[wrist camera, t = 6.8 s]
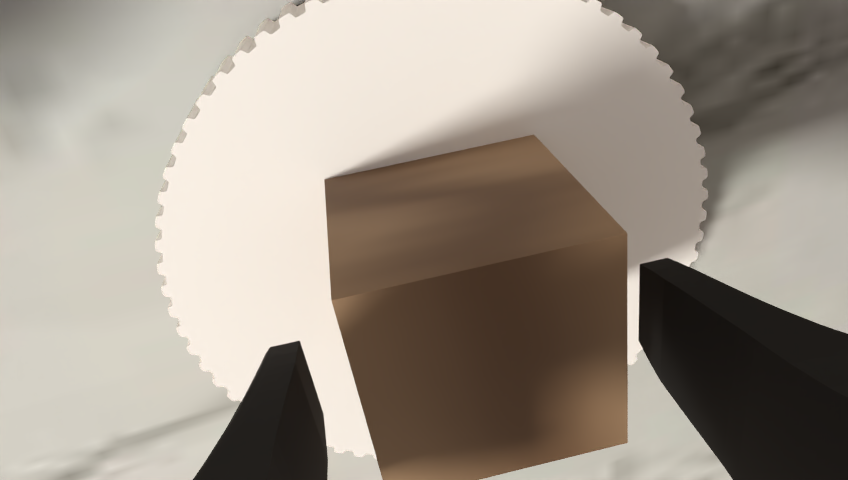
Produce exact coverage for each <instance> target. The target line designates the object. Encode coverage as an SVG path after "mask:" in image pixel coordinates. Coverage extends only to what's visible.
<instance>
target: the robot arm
mask: <svg viewBox="0 0 848 480" xmlns="http://www.w3.org/2000/svg"><path fill="white" fill-rule="evenodd" d="M638 341H639V342H640V344H641V346H642V348H643V350H644V352H645V354H646V356H647V358H648V359H649V361H650V363H651V365H652V367H653V368H654V370H655V372H656V374H657V375H658V377H659V379H660V381H661V382H662V383H663V385H664V386H665V388H666V389H667V390H668V392H669V393H670V394H671V396H672V397H673V399H674V400H675V401H676V403H677V404H678V405H679V407H680V408H681V409H682V411H683V412H684V413H685V415H686V416H687V417H688V419H689V420H690V422H691V423H692V424H693V426H694V427H695V428H696V430H697V431H698V432H699V434H700V435H701V436H702V438H703V439H704V440H705V442H706V443H707V444H708V446H709V447H710V448H711V450H712V451H713V452H714V454H715V455H716V456H717V458H718V459H719V460H720V462H721V463H722V464H723V466H724V467H725V469H726V470H727V472H728V473H729V474H730V476H731V477H732V479H733V480H848V334H846V333H843V332H840V331H837V330H834V329H831V328H828V327H826V326H823V325H820V324H817V323H815V322H812V321H810V320H807V319H805V318H802V317H800V316H797V315H795V314H792V313H789V312H787V311H784V310H782V309H780V308H777V307H775V306H773V305H770V304H768V303H766V302H763V301H761V300H759V299H757V298H754V297H752V296H750V295H748V294H746V293H743V292H741V291H739V290H737V289H735V288H733V287H730V286H728V285H726V284H724V283H722V282H720V281H718V280H716V279H713V278H711V277H709V276H707V275H705V274H703V273H701V272H699V271H697V270H694V269H692V268H690V267H688V266H686V265H684V264H681V263H679V262H677V261H674V260H672V259H669V258H664V259H660V260H655V261H651V262H646V263H642V264H640V275H639V338H638ZM327 467H328V457H327V445H326V434H325V424H324V414H323V411H322V408H321V405H320V401H319V398H318V395H317V392H316V389H315V386H314V383H313V380H312V377H311V374H310V371H309V367H308V364H307V361H306V358H305V355H304V352H303V349H302V346H301V343H300V341H295V342H291V343H286V344H282V345H277V346H273V347H270V348H269V349H268V351H267V352H266V354H265V356H264V358H263V360H262V362H261V364H260V366H259V368H258V370H257V372H256V375H255V377H254V378H253V380H252V382H251V384H250V386H249V388H248V390H247V392H246V394H245V396H244V398H243V400H242V401H241V403H240V405H239V407H238V409H237V410H236V412H235V414H234V416H233V418H232V419H231V421H230V423H229V425H228V426H227V428H226V430H225V431H224V433H223V435H222V436H221V438H220V439H219V441H218V442H217V444H216V446H215V447H214V449H213V450H212V452H211V454H210V455H209V457H208V458H207V460H206V461H205V463H204V464H203V466H202V467H201V469H200V470H199V472H198V473H197V475H196V476H195V477H194V479H193V480H327Z"/></svg>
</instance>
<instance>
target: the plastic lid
mask: <svg viewBox="0 0 848 480" xmlns="http://www.w3.org/2000/svg"><path fill="white" fill-rule="evenodd" d="M601 5H602V3H601V2H599V1H598V0H305V2H304V3H302V4H301V5H299V6H296V5H294V4H293V3H292V2H290V3H288V4H287V5H285V6H284V7H282V9H281V13H280V17H279V19H278V20H277V21H272V20H271V19H269V18H267V19H266V20H264V21H263V22H262V23H261V24H260V25H259V28H258V30H257V33H256V35H255V38H254V39H253V38H251V37H249V36H246V37H245V38H244V39H243V40H242V41H241V42H240V43H239V45H238V47H237V49H236V51H235V54H234V56H233V57H232V56H227V57H226V58H225V59H224V61H223V62H222V63H221V65H220V67H219V69H218V71H217V73H216V75H215V77H214V76H212V77H211V78H210V79H209V81H208V82H207V84H206V86H205V87H204V89H203V91H202V93H201V95H200V96H199V98H198V99H197V100H196V102H195V104H194V106H193V108H192V109H191V111H190V113H189V115H188V117H187V118H186V120H185V122H184V124H183V126H182V130H181V132H180V134H179V136H178V137H177V139H176V141H175V143H174V145H173V147H172V150H171V153H172V156H171V158H170V160H169V162H168V164H167V166H166V168H165V170H164V174H163V178H164V179H165V182H164V184H163V186H162V188H161V190H160V192H159V195H158V203H159V204H161V208H160V210H159V212H158V214H157V216H156V218H155V227H156V228H159V229H160V232H159V234H158V236H157V238H156V241H155V250H156V251H157V252H160V253H162V254H161V256H160V259H159V261H158V264H157V270H158V274H160V275H164V276H165V279H164V281H163V284H162V287H161V289H162V293H163V296H166V297H170V298H171V301H170V304H169V306H168V312H169V314H170V316H171V317H176V318H178V320H179V322H178V325H177V328H176V330H177V332H178V334H179V336H180V337H187V338H188V340H189V341H188V344H187V350H188V351H189V353H190V354H191V355H198V356H199V357H200V361H199V367H200V368H201V369H202V371H203V372H207V371H210V372H211V373H212V374H213V379H212V382H213V383H214V384H215V385H216V386H217V387H222V386H224V387H225V388H226V389H227V390H228V392H227V397H228V398H230V399H231V400H232V401H236V400H240V401H242V400H243V398H244V396H245V394H246V392H247V390H248V388H249V386H250V384H251V382H252V380H253V378H254V377H255V375H256V372H257V370H258V368H259V366H260V364H261V362H262V360H263V358H264V356H265V354H266V352H267V351H268V349H269V348H270V347H273V346H277V345H282V344H286V343H291V342H295V341H300V343H301V346H302V349H303V352H304V355H305V358H306V361H307V364H308V367H309V371H310V374H311V377H312V380H313V383H314V386H315V389H316V392H317V395H318V398H319V401H320V405H321V408H322V411H323V414H324V424H325V434H326V445H327V446H330V447H333V448H334V452H337V453H341V454H342V453H344V452H345V451H351V452H354V456H357V457H363V456H364V455H365V454H370V455H373V456H374V459H377V457H376V454H375V450H374V447H373V444H372V440H371V437H370V433H369V430H368V426H367V423H366V419H365V416H364V412H363V409H362V405H361V402H360V398H359V395H358V391H357V388H356V384H355V381H354V377H353V374H352V370H351V367H350V364H349V360H348V357H347V353H346V350H345V346H344V343H343V339H342V336H341V332H340V329H339V325H338V322H337V318H336V315H335V311H334V308H333V304H332V301H331V286H330V269H329V252H328V235H327V217H326V200H325V183H324V180H325V179H329V178H334V177H339V176H343V175H348V174H353V173H357V172H362V171H367V170H371V169H376V168H380V167H385V166H390V165H394V164H399V163H404V162H408V161H413V160H418V159H422V158H427V157H432V156H436V155H441V154H446V153H450V152H455V151H460V150H464V149H469V148H474V147H478V146H483V145H488V144H492V143H497V142H502V141H506V140H511V139H516V138H520V137H525V136H530V135H535V136H536V137H537V138H538V139H539V140H540V141H541V142H542V144H543V145H544V146H545V147H546V148H547V149H548V150H549V151H550V152H551V153H552V154H553V155H554V156H555V157H556V158H557V159H558V160H559V161H560V163H561V164H562V165H563V166H564V167H565V168H566V169H567V170H568V171H569V172H570V173H571V174H572V175H573V176H574V177H575V178H576V179H577V181H578V182H579V183H580V184H581V185H582V186H583V187H584V188H585V189H586V190H587V191H588V192H589V193H590V194H591V195H592V196H593V197H594V198H595V200H596V201H597V202H598V203H599V204H600V205H601V206H602V207H603V208H604V209H605V210H606V211H607V212H608V213H609V214H610V215H611V216H612V218H613V219H614V220H615V221H616V222H617V223H618V224H619V225H620V226H621V227H622V228H623V229H624V230H625V231H626V232H627V365H633V364H634V363H635V362H636V360H637V359H638V358H637V357H636V355H637V354H638V352H639V351H640V350H643V348H642V346H641V344H640V342H639V341H638V338H639V275H640V264H642V263H646V262H651V261H655V260H660V259H664V258H669V259H672V260H674V261H677V262H679V263H681V264H684V265H686V266H688V267H689V266H690V263H691V262H694V261H696V260H697V257H698V254H699V252H698V251H697V250H696V249H695V246H696V243H697V242H700V241H702V238H703V234H704V232H703V231H702V230H701V229H699V227H700V223H701V222H702V221H705V220H706V215H707V211H706V210H704V209H703V208H702V202H703V201H705V200H707V199H708V190H707V189H706V188H704V187H703V186H702V181H703V180H705V179H706V178H707V177H708V172H707V168H705V167H704V166H702V165H701V162H700V160H701V159H702V158H703V157H705V149H704V147H703V146H701V145H700V144H698V143H697V141H696V139H697V138H698V137H699V136H700V135H701V132H700V128H699V126H698V125H696V124H695V123H693V122H691V121H690V117H691V116H692V115H693V114H694V110H693V108H692V106H691V104H689V103H687V102H685V101H683V100H681V97H682V95H683V94H684V93H685V91H684V89H683V87H682V85H681V84H680V83H678V82H676V81H674V80H672V79H670V76H671V75H672V73H673V70H672V69H671V67H670V66H669V65H668V64H667V63H664V62H662V61H660V60H658V59H656V58H657V56H658V54H659V52H658V50H657V49H656V48H655V47H654V46H653V45H651V44H648V43H646V42H644V41H642V40H640V39H641V37H642V33H641V32H639V31H638V30H637V29H636V28H634V27H632V26H629V25H627V24H624V23H622V21H623V17H622V16H620V15H619V14H618V13H616V12H614V11H611V10H609V9H606V8H604V7H601Z"/></svg>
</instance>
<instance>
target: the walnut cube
mask: <svg viewBox="0 0 848 480" xmlns="http://www.w3.org/2000/svg"><path fill="white" fill-rule="evenodd" d="M324 183H325V200H326V217H327V235H328V252H329V269H330V286H331V301H332V304H333V308H334V311H335V315H336V318H337V322H338V325H339V329H340V332H341V336H342V339H343V343H344V346H345V350H346V353H347V357H348V360H349V364H350V367H351V370H352V374H353V377H354V381H355V384H356V388H357V391H358V395H359V398H360V402H361V405H362V409H363V412H364V416H365V419H366V423H367V426H368V430H369V433H370V437H371V440H372V444H373V447H374V450H375V454H376V457H377V461H378V464H379V468H380V471H381V475H382V478H383V480H479V479H483V478H487V477H491V476H495V475H499V474H503V473H507V472H511V471H515V470H519V469H523V468H527V467H532V466H536V465H540V464H544V463H548V462H552V461H556V460H560V459H564V458H568V457H572V456H576V455H580V454H584V453H588V452H592V451H596V450H600V449H604V448H608V447H612V446H616V445H620V444H624V443H627V232H626V231H625V230H624V229H623V228H622V227H621V226H620V225H619V224H618V223H617V222H616V221H615V220H614V219H613V218H612V216H611V215H610V214H609V213H608V212H607V211H606V210H605V209H604V208H603V207H602V206H601V205H600V204H599V203H598V202H597V201H596V200H595V198H594V197H593V196H592V195H591V194H590V193H589V192H588V191H587V190H586V189H585V188H584V187H583V186H582V185H581V184H580V183H579V182H578V181H577V179H576V178H575V177H574V176H573V175H572V174H571V173H570V172H569V171H568V170H567V169H566V168H565V167H564V166H563V165H562V164H561V163H560V161H559V160H558V159H557V158H556V157H555V156H554V155H553V154H552V153H551V152H550V151H549V150H548V149H547V148H546V147H545V146H544V145H543V144H542V142H541V141H540V140H539V139H538V138H537V137H536V136H535V135H530V136H525V137H520V138H516V139H511V140H506V141H502V142H497V143H492V144H488V145H483V146H478V147H474V148H469V149H464V150H460V151H455V152H450V153H446V154H441V155H436V156H432V157H427V158H422V159H418V160H413V161H408V162H404V163H399V164H394V165H390V166H385V167H380V168H376V169H371V170H367V171H362V172H357V173H353V174H348V175H343V176H339V177H334V178H329V179H325V180H324Z"/></svg>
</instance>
